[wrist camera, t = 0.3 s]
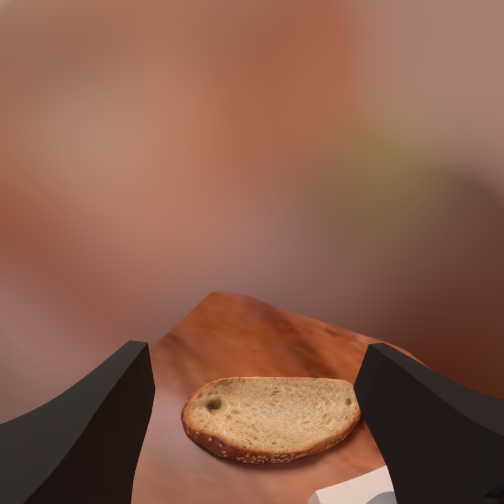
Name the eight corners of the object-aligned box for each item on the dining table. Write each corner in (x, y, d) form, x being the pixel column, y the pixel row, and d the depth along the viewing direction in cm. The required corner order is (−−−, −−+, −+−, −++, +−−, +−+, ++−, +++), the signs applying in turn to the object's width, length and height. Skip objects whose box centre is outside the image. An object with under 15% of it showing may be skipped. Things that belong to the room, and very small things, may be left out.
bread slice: (369, 398, 29) (378, 379, 28) (301, 509, 16) (310, 498, 14) (258, 351, 39) (260, 332, 38) (166, 420, 26) (160, 400, 24)
